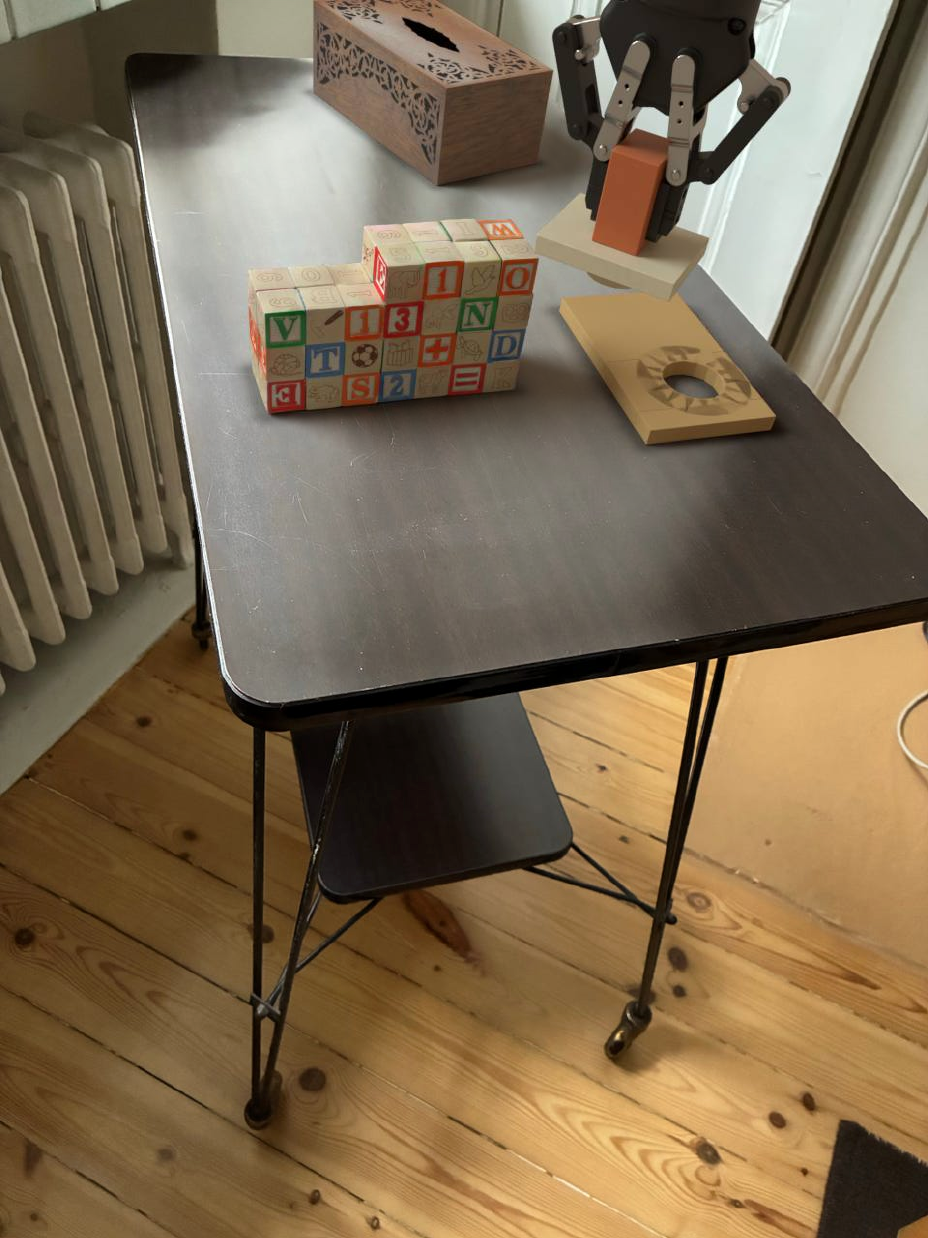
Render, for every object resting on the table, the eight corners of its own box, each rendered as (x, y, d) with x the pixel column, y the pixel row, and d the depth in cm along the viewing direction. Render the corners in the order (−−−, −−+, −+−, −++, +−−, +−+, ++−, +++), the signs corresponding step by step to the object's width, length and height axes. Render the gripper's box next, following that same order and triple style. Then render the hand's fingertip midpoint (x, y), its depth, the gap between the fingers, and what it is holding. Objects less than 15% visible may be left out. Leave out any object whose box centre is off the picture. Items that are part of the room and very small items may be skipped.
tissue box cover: (313, 92, 119) (313, -1, 112) (410, 76, 126) (417, -12, 119) (436, 185, 107) (446, 88, 100) (537, 162, 114) (553, 69, 106)
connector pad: (698, 273, 64) (738, 149, 58) (663, 321, 60) (702, 192, 54) (572, 228, 66) (598, 104, 60) (529, 271, 62) (553, 142, 56)
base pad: (771, 430, 85) (778, 415, 84) (645, 444, 81) (650, 430, 80) (672, 302, 97) (676, 289, 96) (558, 311, 93) (561, 297, 92)
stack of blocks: (266, 417, 78) (260, 274, 69) (251, 370, 82) (243, 229, 72) (516, 389, 84) (541, 255, 75) (491, 347, 88) (512, 215, 79)
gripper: (552, -136, 47) (499, 213, 60) (837, -59, 44) (717, 292, 57) (609, -158, 52) (549, 170, 65) (870, -90, 48) (752, 240, 61)
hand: (628, 225), depth 61 cm, fingers closed on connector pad, 3 cm apart
